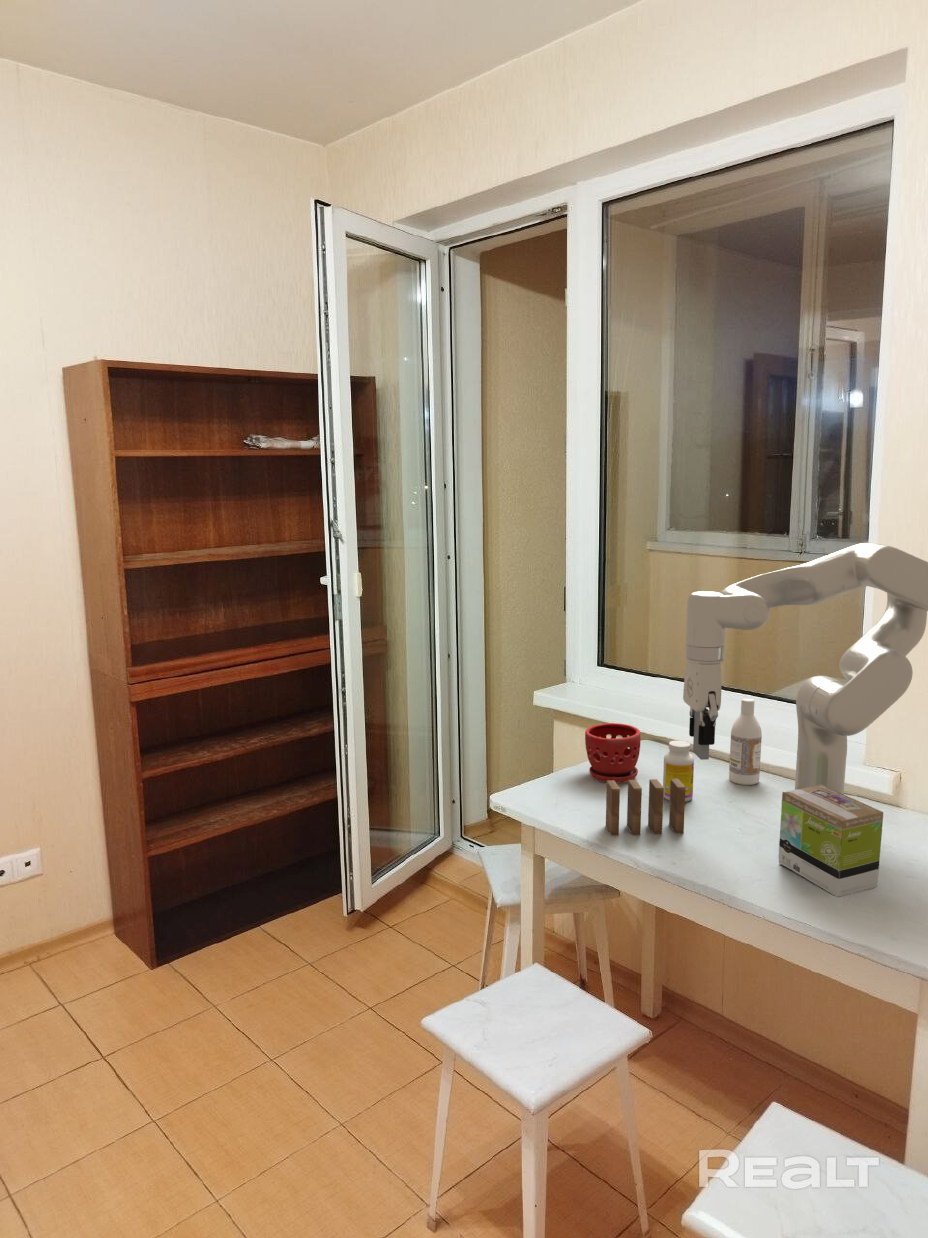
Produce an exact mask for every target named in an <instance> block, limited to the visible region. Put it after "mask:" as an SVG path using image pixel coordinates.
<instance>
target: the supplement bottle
mask: <svg viewBox="0 0 928 1238" xmlns="http://www.w3.org/2000/svg"><path fill="white" fill-rule="evenodd" d="M668 742H669V743H668V750H669V751H667V753H665V755H664V757H663V773H662V774H663V776H662V777H663V779H662V786H663V787H664V794H663V799H666V800H667V801H669V802H670V783H671V779H679V780H680V781H681V783H682V784H683V785H684V786H685V803H687V802H689V801H692V799H693V794H694V769H695V766H694V765H695V759H694V756H693V755H692V754H691V753H690V751H691V743H690V742H688V741H684V740H671V741H668Z"/></svg>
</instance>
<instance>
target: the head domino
mask: <svg viewBox="0 0 928 1238" xmlns="http://www.w3.org/2000/svg"><path fill="white" fill-rule="evenodd" d="M704 710H709V708H708V707H707V708H705V709H704ZM704 715H705V717H706V716H707V715H709V713H704ZM699 725H701V722H700V712H696V711H694V737H693V739H692V740H693V742H692V743H693V745H692V752H693V753H694V755H695V756H697V758H699V759H700V760H702V761H704V760H710V758H709V757H710V745H699V744H698V732H699Z"/></svg>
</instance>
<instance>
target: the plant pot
mask: <svg viewBox="0 0 928 1238" xmlns="http://www.w3.org/2000/svg"><path fill="white" fill-rule="evenodd" d="M584 735H585V736H584V742H585V743H584V744H585V745H584V746H585V750H586V751H585V752H586V755H587V756H586V757H587V759H588V762H589V764H590V767H589V770H588V771H589V773H590V776H591V777H593V778H594V779H595V780H597V781H599V782H603V783H607V781H609V780H614V781H615V782H616V784H617V785H618V784H622V783H628V780H635V778H636V777H637V776H638V774H639V770H638V768H637V767H636V766H637V763H638V761H639V758H640V751H641V741H642V740H641V731H640V729H639V728H637V727H635V726H633V725H631V724H630V725H629V724H625V723H618V722H617V723H616V722H615V723H614V722H612V723H611V722H609V723H600V724H595V725H591V726H589V727H588V728H586V729H585V733H584ZM608 735H610V736H611V737H610V738H607V736H608ZM618 736H620V738H617V737H618Z"/></svg>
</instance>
